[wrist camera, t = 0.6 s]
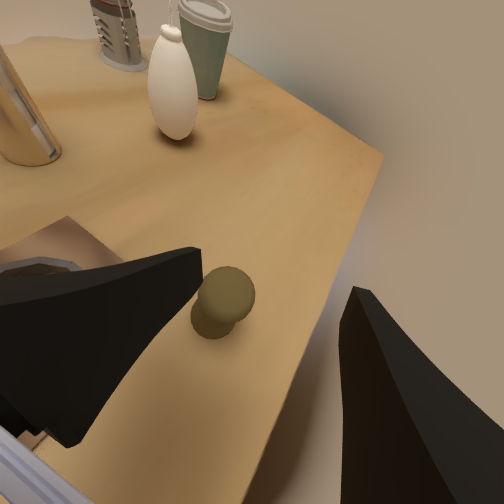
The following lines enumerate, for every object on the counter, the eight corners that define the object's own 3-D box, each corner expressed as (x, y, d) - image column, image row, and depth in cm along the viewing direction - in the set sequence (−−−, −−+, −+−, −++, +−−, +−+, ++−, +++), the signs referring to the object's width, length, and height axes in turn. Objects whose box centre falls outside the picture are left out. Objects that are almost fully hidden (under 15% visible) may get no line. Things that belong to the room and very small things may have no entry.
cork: (229, 345, 25) (255, 336, 15) (182, 330, 24) (180, 312, 15) (242, 299, 28) (270, 269, 19) (201, 285, 27) (209, 247, 18)
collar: (17, 405, 17) (-7, 411, 15) (-70, 326, 18) (-104, 322, 16) (126, 306, 23) (120, 300, 21) (58, 249, 24) (46, 239, 22)
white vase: (167, 119, 41) (156, -21, 26) (202, 136, 42) (211, 9, 27) (145, 137, 37) (118, -17, 22) (184, 155, 38) (184, 19, 23)
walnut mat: (1, 482, 15) (-6, 487, 15) (-152, 337, 17) (-163, 336, 16) (173, 302, 25) (173, 301, 25) (69, 218, 26) (67, 215, 26)
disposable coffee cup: (212, 111, 47) (222, 20, 35) (170, 89, 46) (164, -12, 34) (228, 95, 53) (242, 12, 40) (191, 75, 52) (193, -16, 40)
